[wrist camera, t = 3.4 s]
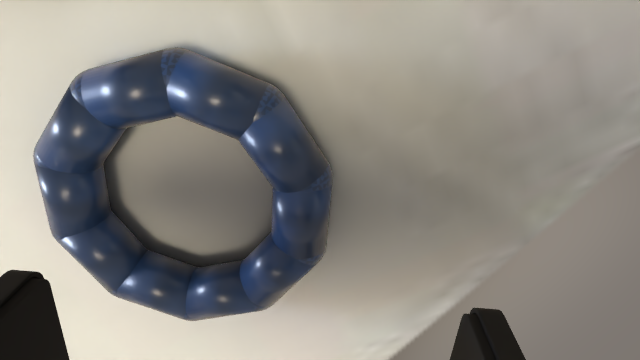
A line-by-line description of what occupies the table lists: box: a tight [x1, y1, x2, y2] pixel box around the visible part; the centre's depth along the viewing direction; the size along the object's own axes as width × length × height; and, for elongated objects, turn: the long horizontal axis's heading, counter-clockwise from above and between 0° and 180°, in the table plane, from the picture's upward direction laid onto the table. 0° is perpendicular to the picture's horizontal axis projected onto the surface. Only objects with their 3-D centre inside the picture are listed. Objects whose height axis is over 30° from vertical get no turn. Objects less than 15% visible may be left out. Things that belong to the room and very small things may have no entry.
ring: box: [33, 48, 333, 321], centre depth 15 cm, size 10×10×2 cm
